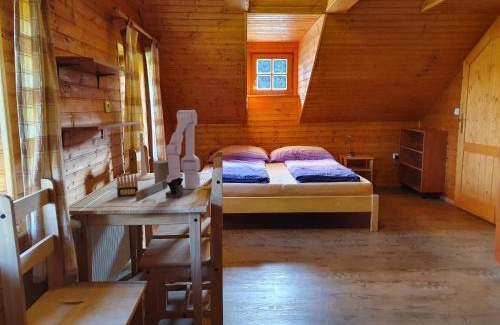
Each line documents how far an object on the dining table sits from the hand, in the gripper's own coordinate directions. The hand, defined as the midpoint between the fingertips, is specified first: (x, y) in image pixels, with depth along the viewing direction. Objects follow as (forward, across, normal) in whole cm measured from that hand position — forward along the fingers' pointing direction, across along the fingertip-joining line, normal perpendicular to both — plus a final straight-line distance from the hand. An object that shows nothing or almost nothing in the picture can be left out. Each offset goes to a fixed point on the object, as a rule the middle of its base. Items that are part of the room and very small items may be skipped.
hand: (175, 193), depth 197 cm
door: (+2, -6, -16) cm, 17 cm away
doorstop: (+2, 0, -1) cm, 2 cm away
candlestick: (+2, -40, -43) cm, 59 cm away
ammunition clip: (+2, +4, -26) cm, 26 cm away
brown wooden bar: (+2, -5, -16) cm, 17 cm away
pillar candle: (+2, -28, -23) cm, 36 cm away
